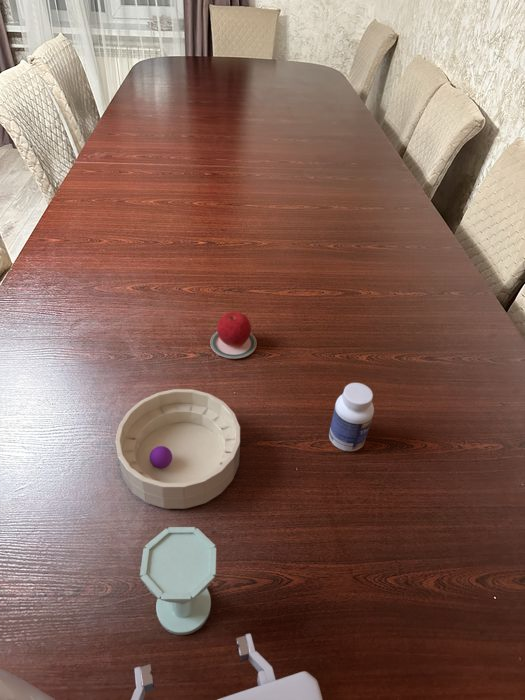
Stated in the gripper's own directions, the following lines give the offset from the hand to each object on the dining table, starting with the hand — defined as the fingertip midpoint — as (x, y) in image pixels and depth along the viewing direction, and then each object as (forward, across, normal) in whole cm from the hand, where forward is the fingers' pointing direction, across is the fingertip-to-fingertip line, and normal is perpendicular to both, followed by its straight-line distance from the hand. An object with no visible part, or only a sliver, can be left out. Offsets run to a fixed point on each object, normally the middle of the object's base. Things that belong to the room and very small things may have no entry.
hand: (194, 651), depth 49 cm
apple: (+48, -16, +7) cm, 51 cm away
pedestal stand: (+7, 0, +7) cm, 10 cm away
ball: (+26, 0, +4) cm, 26 cm away
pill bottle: (+24, -27, +7) cm, 37 cm away
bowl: (+27, -3, +7) cm, 28 cm away
